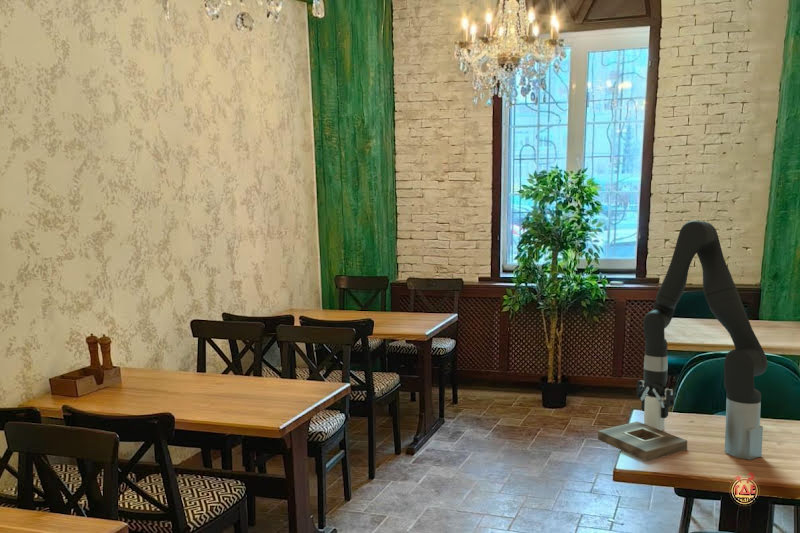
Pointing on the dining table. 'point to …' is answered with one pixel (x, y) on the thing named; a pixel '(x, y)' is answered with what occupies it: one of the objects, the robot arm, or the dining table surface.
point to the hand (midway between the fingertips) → (654, 414)
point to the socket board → (632, 443)
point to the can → (653, 413)
